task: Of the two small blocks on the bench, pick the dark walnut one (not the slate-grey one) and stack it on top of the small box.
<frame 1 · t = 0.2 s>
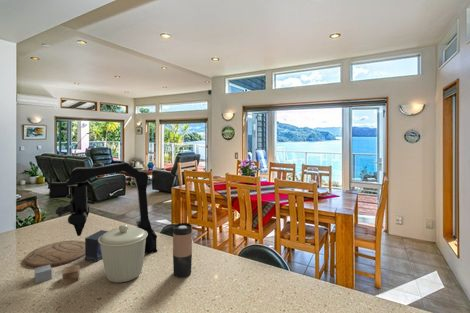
hand: (80, 232, 111), 14 cm above the worktop, fingers open, 9 cm apart
trivet: (59, 255, 121), on the worktop
slate block: (43, 278, 100), on the worktop
travel mug: (182, 273, 106), on the worktop
walnut block: (71, 279, 100), on the worktop
canister: (124, 276, 103), on the worktop
small box: (99, 256, 119), on the worktop
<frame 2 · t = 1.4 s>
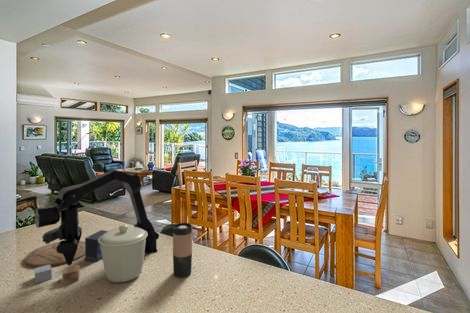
hand: (71, 259, 100), 8 cm above the worktop, fingers open, 9 cm apart
nothing on the worktop moved.
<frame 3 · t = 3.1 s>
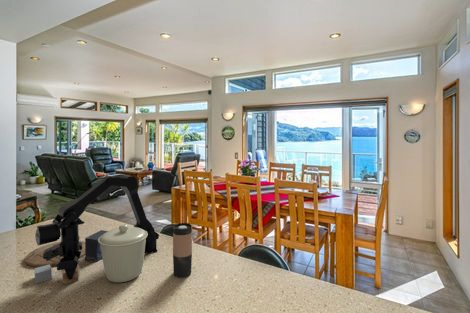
hand: (71, 275, 100), 1 cm above the worktop, fingers closed on walnut block, 5 cm apart
walnut block: (71, 278, 100), on the worktop, touching gripper
everything else where it was.
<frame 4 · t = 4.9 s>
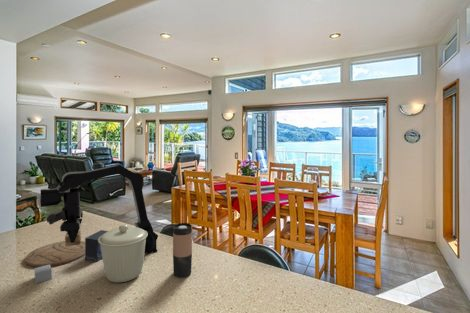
hand: (73, 240, 106), 13 cm above the worktop, fingers closed on walnut block, 5 cm apart
walnut block: (73, 243, 106), point 11 cm above the worktop, touching gripper
everything else where it was.
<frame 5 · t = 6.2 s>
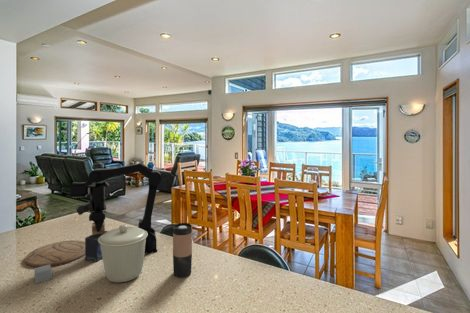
hand: (98, 229, 118), 13 cm above the worktop, fingers closed on walnut block, 5 cm apart
walnut block: (98, 232, 119), point 11 cm above the worktop, touching gripper
everything else where it was.
when the fingers open (12 cm above the worktop, at t = 7.1 s): walnut block stays where it is, resting on small box.
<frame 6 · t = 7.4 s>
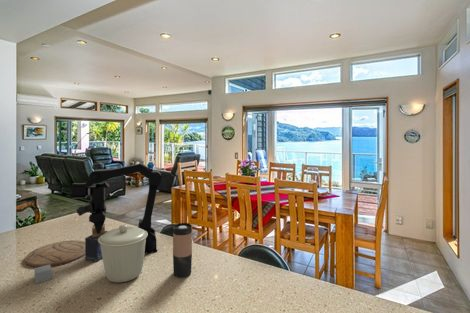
hand: (98, 230, 119), 12 cm above the worktop, fingers open, 8 cm apart
walnut block: (98, 234, 119), point 10 cm above the worktop, touching small box
small box: (99, 256, 120), on the worktop, touching walnut block
everything else where it was.
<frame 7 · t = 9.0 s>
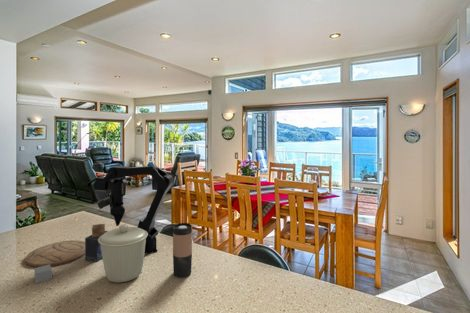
hand: (117, 222, 127), 13 cm above the worktop, fingers open, 9 cm apart
nothing on the worktop moved.
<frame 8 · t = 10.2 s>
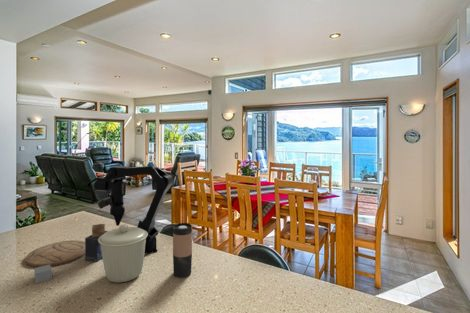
hand: (117, 222, 127), 13 cm above the worktop, fingers open, 9 cm apart
nothing on the worktop moved.
at the end: walnut block inside the target area on the small box (0.0 cm from its centre), point 10.7 cm above the small box's base; walnut block tilted 0°; the gripper is holding nothing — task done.
